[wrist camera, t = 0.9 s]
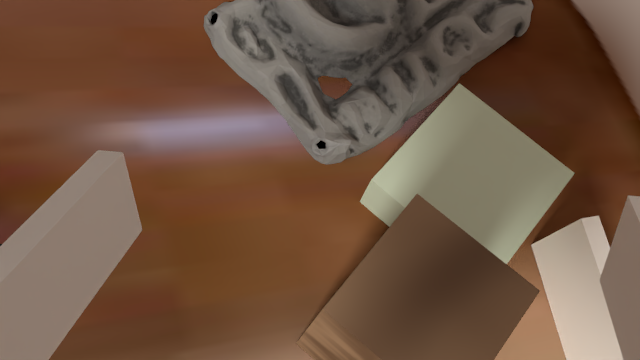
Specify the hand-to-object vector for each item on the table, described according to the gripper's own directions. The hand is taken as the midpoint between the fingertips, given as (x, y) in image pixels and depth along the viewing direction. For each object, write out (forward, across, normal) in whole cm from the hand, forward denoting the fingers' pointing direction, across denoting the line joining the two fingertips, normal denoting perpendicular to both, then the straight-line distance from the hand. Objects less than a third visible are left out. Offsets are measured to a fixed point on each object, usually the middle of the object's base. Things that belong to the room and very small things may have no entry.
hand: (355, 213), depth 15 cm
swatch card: (+19, +12, -21) cm, 31 cm away
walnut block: (+14, -2, -21) cm, 25 cm away
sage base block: (+24, +4, -16) cm, 29 cm away
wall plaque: (+35, -4, -6) cm, 36 cm away
